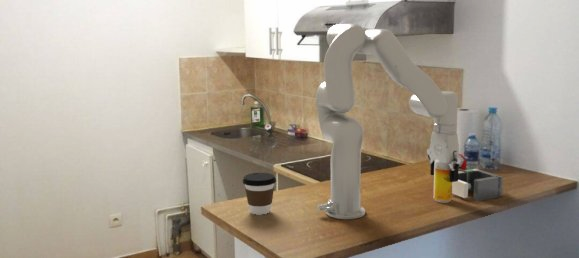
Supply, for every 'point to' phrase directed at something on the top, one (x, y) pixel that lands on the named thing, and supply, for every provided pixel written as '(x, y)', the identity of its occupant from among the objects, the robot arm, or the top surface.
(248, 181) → the coffee cup
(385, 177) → the top surface
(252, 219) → the top surface
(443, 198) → the beer can
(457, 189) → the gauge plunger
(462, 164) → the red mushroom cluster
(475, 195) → the gauge frame
